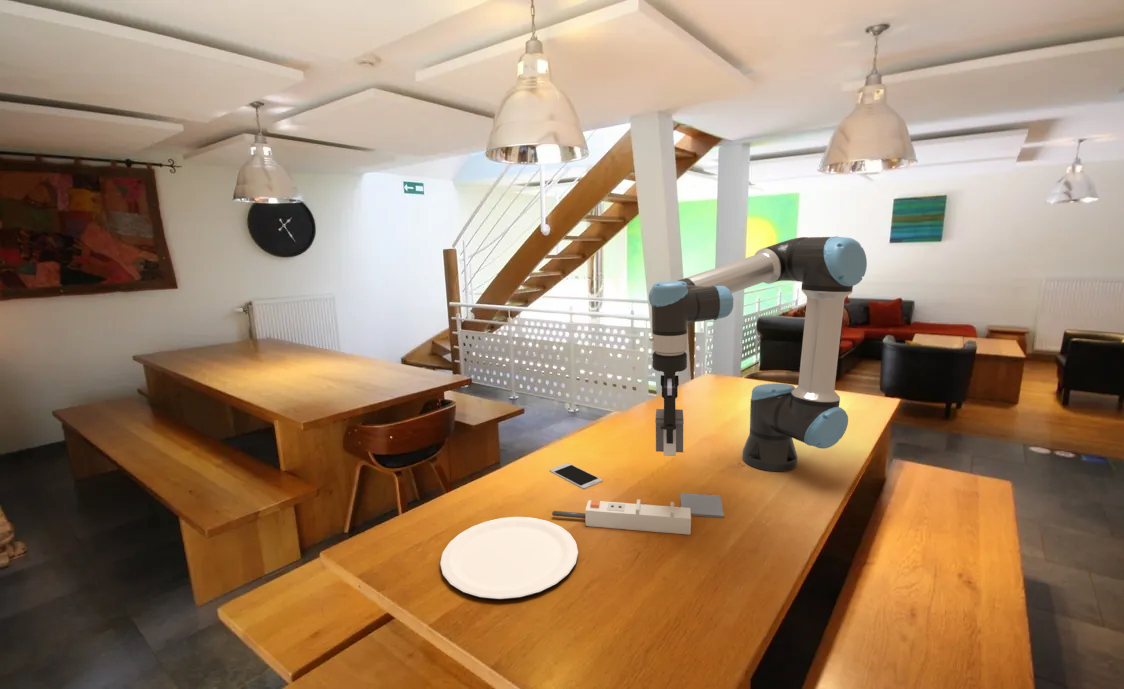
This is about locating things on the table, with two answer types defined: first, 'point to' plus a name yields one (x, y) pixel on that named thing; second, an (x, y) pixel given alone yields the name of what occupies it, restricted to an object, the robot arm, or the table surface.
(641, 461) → the table surface
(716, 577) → the table surface
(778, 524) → the table surface
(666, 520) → the power strip
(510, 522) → the plate
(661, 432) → the grey block
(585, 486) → the smartphone
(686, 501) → the mat
